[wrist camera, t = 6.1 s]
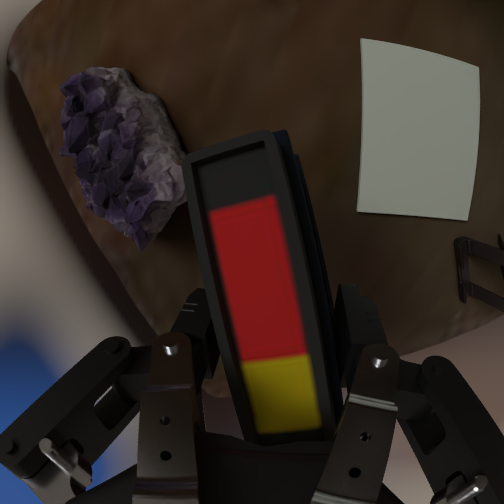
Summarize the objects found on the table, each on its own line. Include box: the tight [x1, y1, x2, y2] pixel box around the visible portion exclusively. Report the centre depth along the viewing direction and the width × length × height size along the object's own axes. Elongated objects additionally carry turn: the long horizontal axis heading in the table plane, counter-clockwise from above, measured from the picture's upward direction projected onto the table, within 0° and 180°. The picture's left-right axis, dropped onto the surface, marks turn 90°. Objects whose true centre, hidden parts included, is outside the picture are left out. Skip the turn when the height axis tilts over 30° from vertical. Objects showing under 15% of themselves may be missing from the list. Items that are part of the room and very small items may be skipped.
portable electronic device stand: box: [454, 234, 504, 312], centre depth 26 cm, size 9×8×8 cm
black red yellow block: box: [181, 130, 344, 446], centre depth 16 cm, size 4×13×15 cm, turn 17°
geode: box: [59, 66, 187, 251], centre depth 26 cm, size 20×12×10 cm, turn 29°
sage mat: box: [357, 38, 480, 221], centre depth 25 cm, size 18×14×1 cm
